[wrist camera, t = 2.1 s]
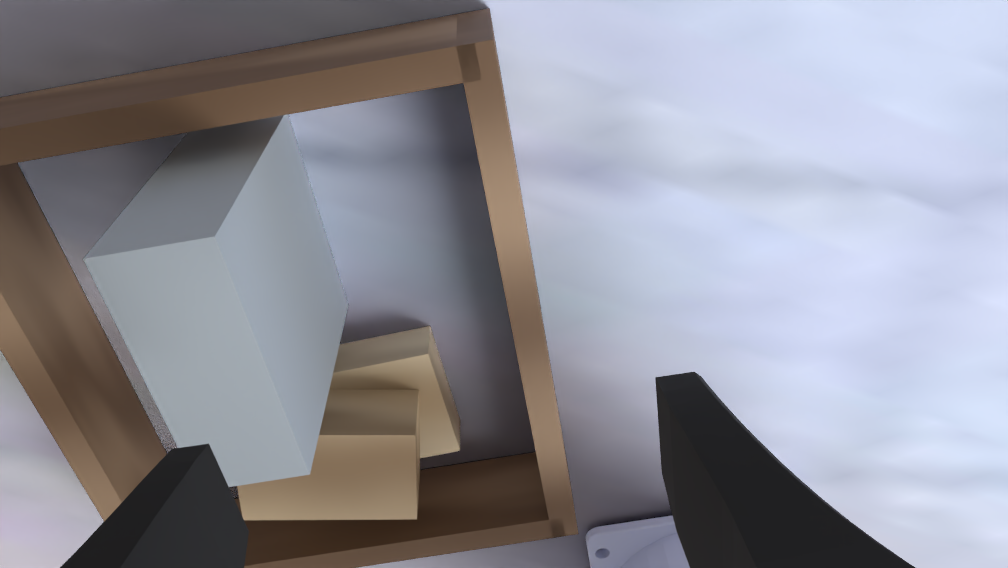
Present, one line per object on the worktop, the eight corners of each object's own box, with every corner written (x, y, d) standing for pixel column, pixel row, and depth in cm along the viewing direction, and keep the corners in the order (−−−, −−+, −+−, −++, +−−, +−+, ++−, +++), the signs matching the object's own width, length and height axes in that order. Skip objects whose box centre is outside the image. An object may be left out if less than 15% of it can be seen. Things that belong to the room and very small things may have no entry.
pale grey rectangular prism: (348, 304, 24) (309, 474, 18) (266, 318, 24) (200, 491, 18) (287, 110, 21) (215, 236, 15) (192, 126, 21) (82, 259, 15)
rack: (567, 465, 27) (578, 534, 25) (179, 525, 28) (150, 598, 25) (489, 8, 20) (493, 39, 17) (-46, 106, 20) (-121, 150, 18)
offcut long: (460, 408, 27) (460, 450, 25) (258, 448, 27) (244, 492, 25) (430, 315, 25) (428, 353, 23) (213, 360, 25) (195, 400, 24)
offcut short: (420, 471, 25) (417, 519, 24) (258, 471, 25) (243, 520, 23) (418, 389, 24) (415, 435, 22) (245, 388, 23) (227, 435, 22)
